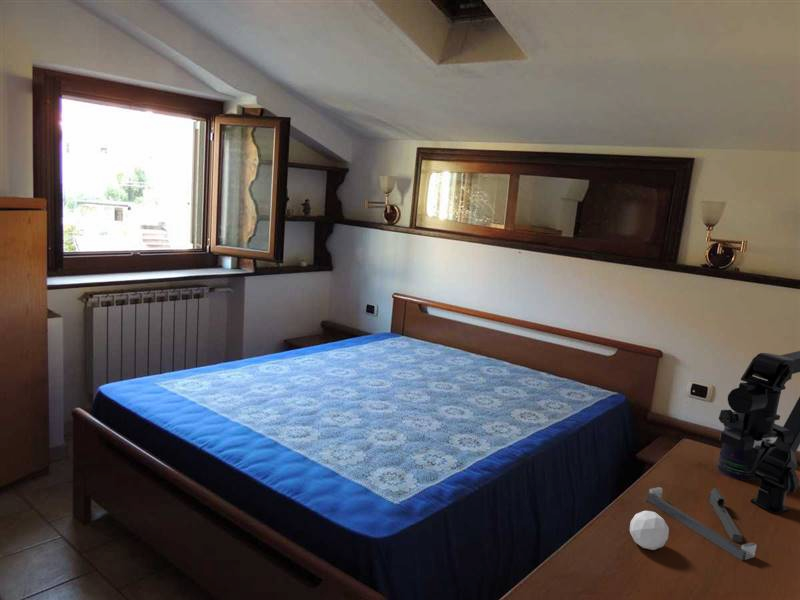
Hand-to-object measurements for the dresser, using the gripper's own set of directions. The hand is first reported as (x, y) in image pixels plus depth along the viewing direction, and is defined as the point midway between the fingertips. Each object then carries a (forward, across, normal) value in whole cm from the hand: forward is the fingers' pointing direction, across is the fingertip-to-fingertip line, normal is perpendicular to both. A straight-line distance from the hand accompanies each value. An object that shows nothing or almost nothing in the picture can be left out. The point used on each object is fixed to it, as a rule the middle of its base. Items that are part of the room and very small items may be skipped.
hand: (750, 469), depth 149 cm
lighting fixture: (+13, +6, 0) cm, 14 cm away
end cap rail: (+12, +16, 0) cm, 20 cm away
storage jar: (+12, -22, -17) cm, 30 cm away
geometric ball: (+12, +34, +2) cm, 36 cm away
